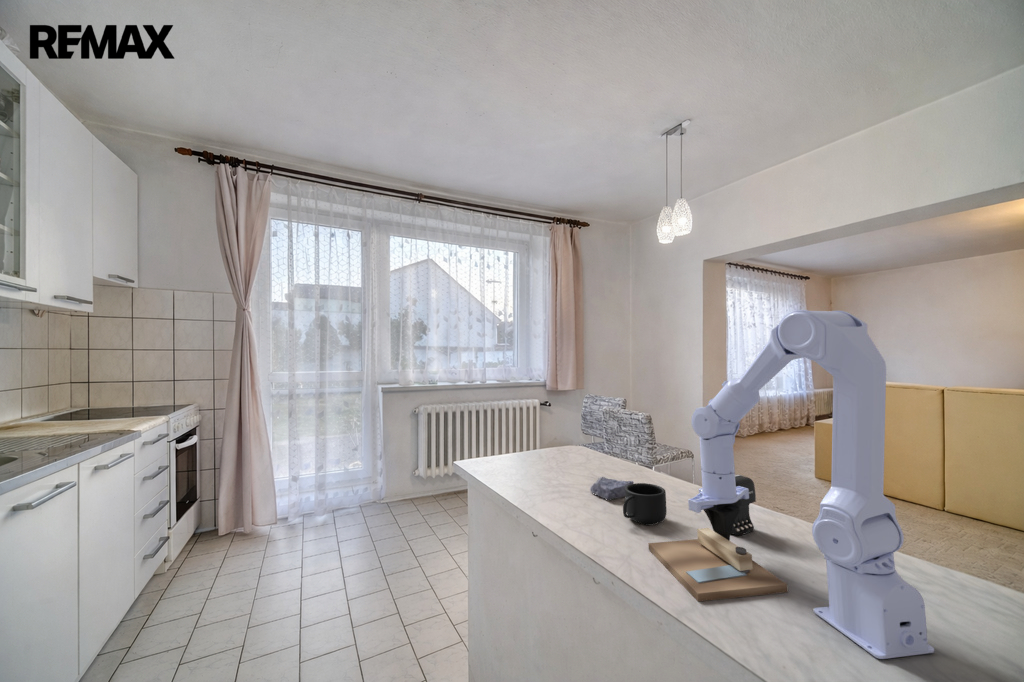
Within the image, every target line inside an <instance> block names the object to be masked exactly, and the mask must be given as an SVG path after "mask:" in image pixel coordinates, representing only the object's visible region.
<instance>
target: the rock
mask: <svg viewBox="0 0 1024 682" xmlns="http://www.w3.org/2000/svg"><path fill="white" fill-rule="evenodd" d="M630 484H635V483H634V480H628V481H627V480H623V479H621V480H617V479H615V478H614V479H612V478H606V477H605V476H601V477H599V478H598V479H597V480H596V481H595V482H594V483H592V484H591V486H590V489H589V490H590V492H591V494H593V493H594V494H596V495H598V496H597V497H601V498H602V499H604V498H605V499H604V500H606V499H607V500H610V499H612V500H614V499H619V498H620V499H621V498H622V497H623V498H625V487H626V486H628V485H630ZM594 494H593V495H594ZM596 495H595V496H596ZM607 500H606V501H607ZM610 501H611V500H610Z"/></svg>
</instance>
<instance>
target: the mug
mask: <svg viewBox="0 0 1024 682" xmlns="http://www.w3.org/2000/svg"><path fill="white" fill-rule="evenodd" d="M666 493H667V492H666V489H665V488H663V486H660V485H657V484H652V483H643V482H640V483H639V482H637V483H633V484H630V485H628V486H626V487H625V497H624V501H623V505H622V511H623V516H624V518H626V519H630V520H632V521H635V522H636V523H639V524H641V523H642V524H641V525H646V524H647V525H648V526H649V525H652V524H653V525H656V524H659V523H662V522H664V520H665V519H666V517H667V510H668V509H667V494H666Z"/></svg>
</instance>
